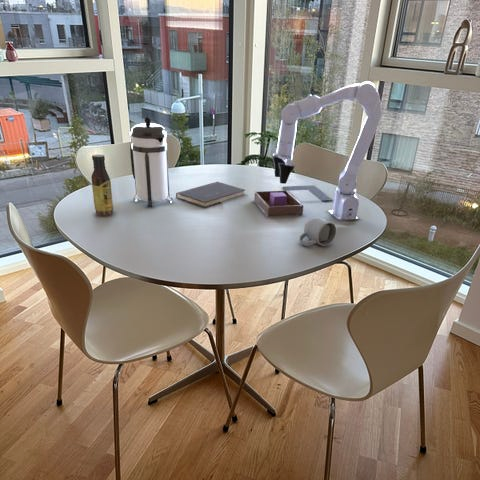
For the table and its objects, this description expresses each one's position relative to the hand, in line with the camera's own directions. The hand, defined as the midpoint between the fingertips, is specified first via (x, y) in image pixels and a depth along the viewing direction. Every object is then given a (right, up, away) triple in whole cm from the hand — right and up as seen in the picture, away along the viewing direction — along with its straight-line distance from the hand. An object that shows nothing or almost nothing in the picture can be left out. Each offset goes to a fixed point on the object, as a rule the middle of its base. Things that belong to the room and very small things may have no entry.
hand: (280, 180), depth 169 cm
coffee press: (-49, -6, +7) cm, 50 cm away
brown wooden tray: (-1, -10, +5) cm, 11 cm away
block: (-1, -9, +4) cm, 10 cm away
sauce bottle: (-63, -14, -6) cm, 65 cm away
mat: (+13, +1, +22) cm, 25 cm away
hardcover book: (-26, -2, +14) cm, 30 cm away
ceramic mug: (+9, -27, -22) cm, 36 cm away
